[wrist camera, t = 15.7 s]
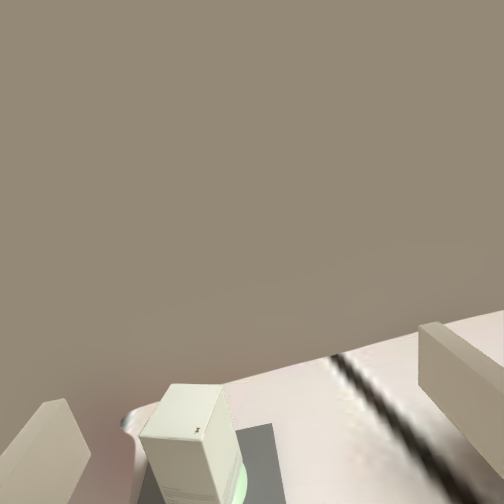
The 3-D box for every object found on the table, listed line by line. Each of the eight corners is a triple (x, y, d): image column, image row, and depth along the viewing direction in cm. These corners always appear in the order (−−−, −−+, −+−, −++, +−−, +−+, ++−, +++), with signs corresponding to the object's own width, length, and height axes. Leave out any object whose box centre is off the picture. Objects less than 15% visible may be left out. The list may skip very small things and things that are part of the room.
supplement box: (244, 459, 37) (225, 383, 33) (227, 528, 30) (201, 442, 26) (194, 453, 39) (171, 381, 35) (167, 517, 32) (135, 436, 28)
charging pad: (272, 429, 42) (271, 422, 41) (294, 551, 28) (292, 542, 28) (154, 454, 41) (152, 447, 41) (119, 591, 28) (115, 583, 27)
